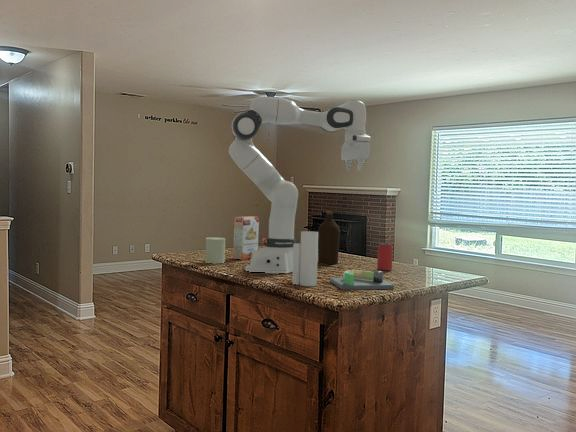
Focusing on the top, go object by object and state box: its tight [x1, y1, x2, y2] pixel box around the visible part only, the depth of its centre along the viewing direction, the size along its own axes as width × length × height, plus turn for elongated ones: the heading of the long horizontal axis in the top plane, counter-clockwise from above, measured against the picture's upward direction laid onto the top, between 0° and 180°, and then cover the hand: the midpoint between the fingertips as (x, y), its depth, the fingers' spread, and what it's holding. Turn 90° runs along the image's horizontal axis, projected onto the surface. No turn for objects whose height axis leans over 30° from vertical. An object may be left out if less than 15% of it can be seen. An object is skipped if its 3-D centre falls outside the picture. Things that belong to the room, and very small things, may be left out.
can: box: [204, 236, 226, 264], centre depth 252 cm, size 9×9×12 cm
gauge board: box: [329, 269, 395, 291], centre depth 206 cm, size 20×16×6 cm
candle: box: [291, 230, 318, 287], centre depth 205 cm, size 11×7×20 cm, turn 50°
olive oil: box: [317, 210, 341, 266], centre depth 260 cm, size 11×11×25 cm
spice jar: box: [351, 268, 384, 282], centre depth 208 cm, size 13×4×4 cm, turn 56°
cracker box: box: [232, 215, 260, 261], centre depth 268 cm, size 14×6×21 cm, turn 150°
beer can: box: [376, 242, 394, 272], centre depth 245 cm, size 7×7×12 cm
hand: (354, 170), depth 235 cm, fingers open, 8 cm apart
